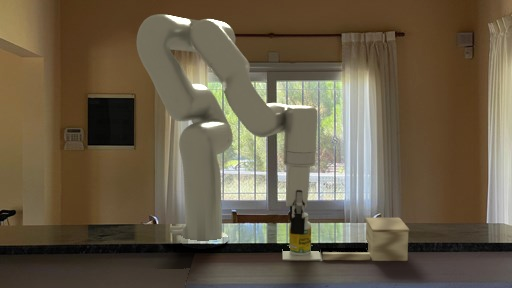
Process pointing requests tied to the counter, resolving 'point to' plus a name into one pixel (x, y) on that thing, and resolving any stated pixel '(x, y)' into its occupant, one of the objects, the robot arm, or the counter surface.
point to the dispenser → (379, 242)
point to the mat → (311, 256)
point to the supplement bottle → (301, 240)
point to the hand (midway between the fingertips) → (296, 226)
